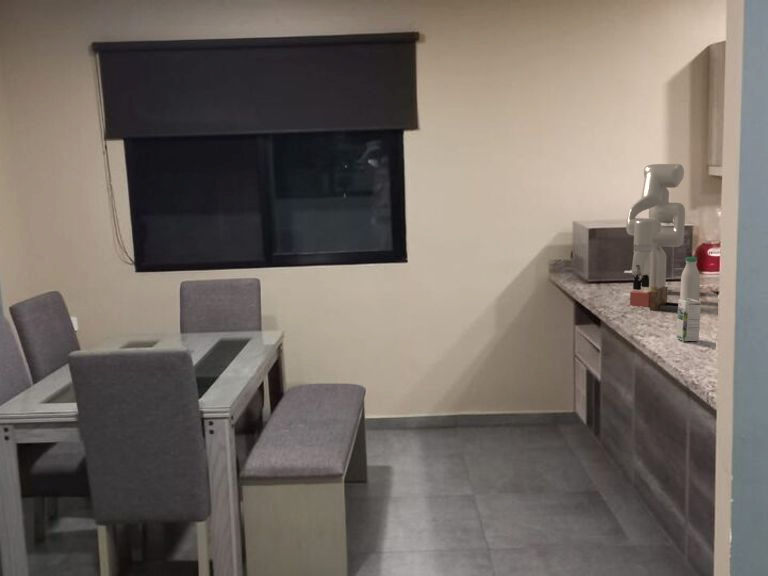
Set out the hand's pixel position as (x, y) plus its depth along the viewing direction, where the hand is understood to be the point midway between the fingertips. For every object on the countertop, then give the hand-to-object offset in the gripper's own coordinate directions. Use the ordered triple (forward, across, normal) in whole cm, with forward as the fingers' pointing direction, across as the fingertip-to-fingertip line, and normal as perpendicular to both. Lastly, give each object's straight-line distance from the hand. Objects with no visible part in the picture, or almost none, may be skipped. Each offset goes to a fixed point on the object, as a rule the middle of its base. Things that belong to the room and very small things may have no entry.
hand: (641, 288), depth 326 cm
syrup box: (+10, +52, +36) cm, 64 cm away
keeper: (+8, 0, +15) cm, 17 cm away
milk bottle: (+7, -19, +15) cm, 25 cm away
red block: (+8, -1, 0) cm, 8 cm away
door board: (+8, 0, +8) cm, 11 cm away
